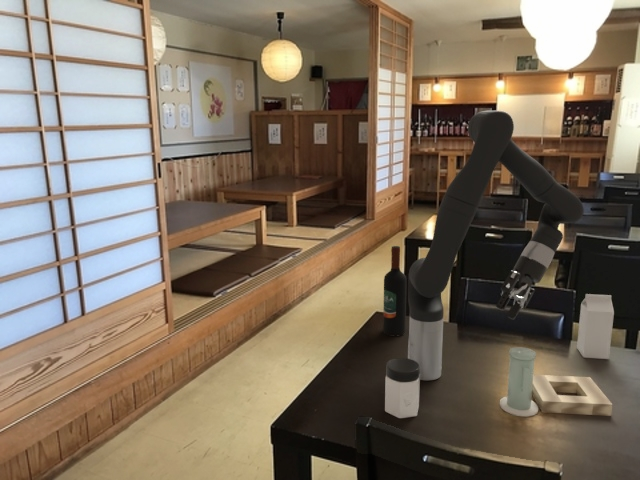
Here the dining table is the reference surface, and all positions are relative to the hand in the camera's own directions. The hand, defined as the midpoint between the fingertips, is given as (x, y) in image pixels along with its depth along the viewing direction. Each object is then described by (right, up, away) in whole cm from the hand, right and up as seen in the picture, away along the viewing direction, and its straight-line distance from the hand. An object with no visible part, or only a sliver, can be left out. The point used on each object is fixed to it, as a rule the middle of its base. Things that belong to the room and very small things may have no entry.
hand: (504, 313), depth 139 cm
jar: (-29, -23, -10) cm, 38 cm away
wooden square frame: (+13, -21, -7) cm, 26 cm away
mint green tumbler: (0, -21, -10) cm, 23 cm away
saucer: (0, -22, -10) cm, 24 cm away
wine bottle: (-24, -12, +39) cm, 47 cm away
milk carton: (+34, -15, +20) cm, 42 cm away
